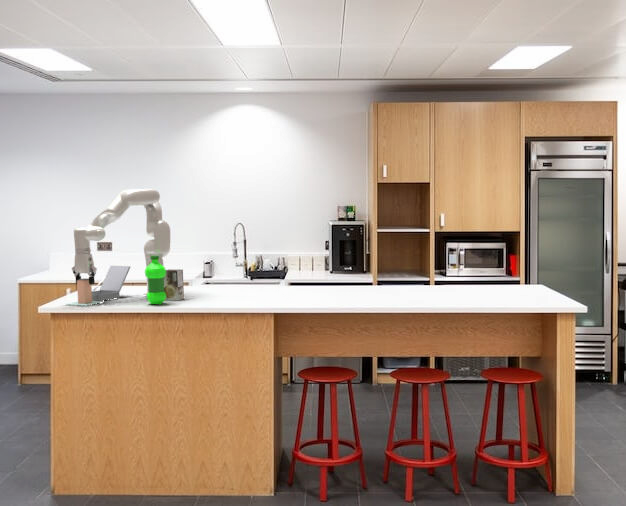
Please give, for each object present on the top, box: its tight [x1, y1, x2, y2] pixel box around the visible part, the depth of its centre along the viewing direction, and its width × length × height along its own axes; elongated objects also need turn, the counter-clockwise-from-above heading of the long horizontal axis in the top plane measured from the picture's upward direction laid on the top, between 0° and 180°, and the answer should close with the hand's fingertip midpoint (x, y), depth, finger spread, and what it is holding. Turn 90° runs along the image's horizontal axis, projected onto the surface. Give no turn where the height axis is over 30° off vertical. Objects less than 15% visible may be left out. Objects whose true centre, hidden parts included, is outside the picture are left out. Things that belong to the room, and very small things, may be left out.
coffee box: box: [164, 268, 185, 301], centre depth 386 cm, size 9×6×16 cm
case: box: [92, 265, 131, 301], centre depth 395 cm, size 16×25×17 cm, turn 150°
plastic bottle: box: [144, 256, 167, 305], centre depth 371 cm, size 10×10×25 cm
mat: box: [66, 301, 103, 307], centre depth 378 cm, size 14×14×1 cm
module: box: [76, 277, 93, 304], centre depth 377 cm, size 5×5×13 cm
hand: (85, 283), depth 377 cm, fingers open, 9 cm apart
